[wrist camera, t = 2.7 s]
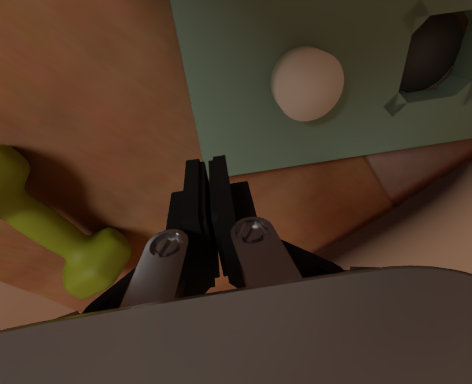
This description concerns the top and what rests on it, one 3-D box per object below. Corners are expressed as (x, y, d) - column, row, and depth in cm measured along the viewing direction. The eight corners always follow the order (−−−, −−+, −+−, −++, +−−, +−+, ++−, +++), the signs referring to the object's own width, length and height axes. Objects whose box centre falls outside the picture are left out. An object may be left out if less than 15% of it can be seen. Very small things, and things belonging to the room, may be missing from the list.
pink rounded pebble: (268, 50, 21) (276, 56, 19) (333, 41, 21) (348, 45, 19) (270, 114, 24) (277, 125, 22) (327, 106, 24) (339, 116, 22)
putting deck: (166, -29, 19) (163, -32, 17) (547, -80, 20) (587, -89, 18) (206, 166, 29) (207, 179, 27) (464, 126, 29) (484, 136, 27)
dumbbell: (143, 233, 33) (132, 283, 27) (94, 260, 35) (73, 313, 29) (15, 123, 24) (-43, 163, 18) (-43, 167, 26) (-113, 217, 20)
